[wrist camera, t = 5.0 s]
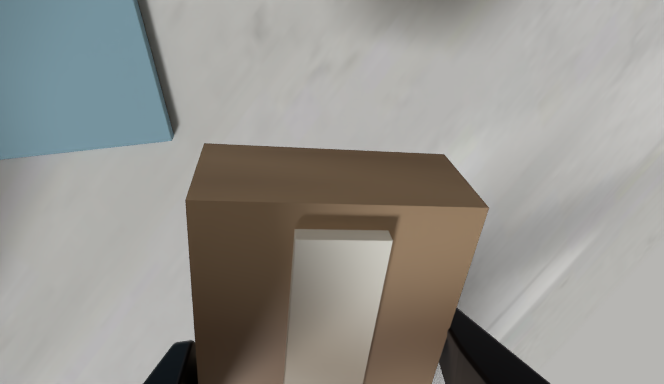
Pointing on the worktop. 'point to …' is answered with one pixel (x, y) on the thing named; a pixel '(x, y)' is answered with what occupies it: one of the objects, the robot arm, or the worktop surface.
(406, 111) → the worktop surface
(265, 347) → the brown cardboard box
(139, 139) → the mat
